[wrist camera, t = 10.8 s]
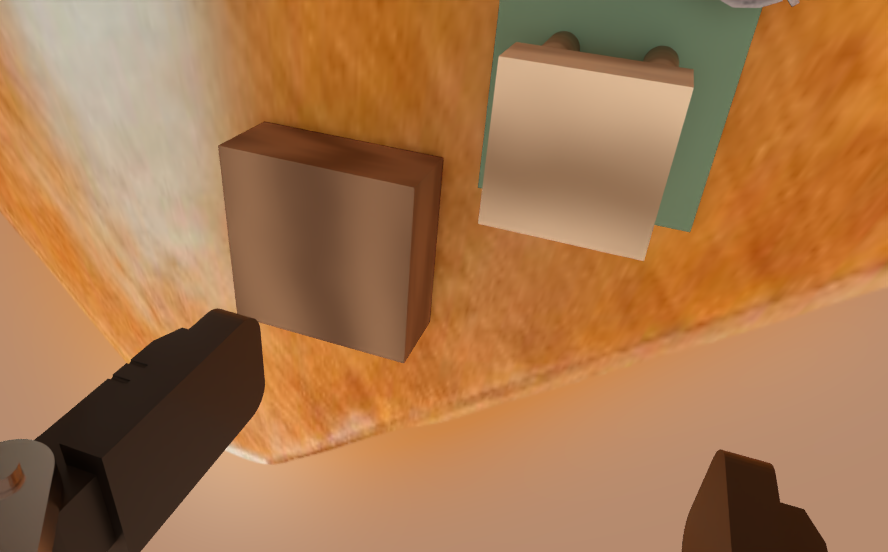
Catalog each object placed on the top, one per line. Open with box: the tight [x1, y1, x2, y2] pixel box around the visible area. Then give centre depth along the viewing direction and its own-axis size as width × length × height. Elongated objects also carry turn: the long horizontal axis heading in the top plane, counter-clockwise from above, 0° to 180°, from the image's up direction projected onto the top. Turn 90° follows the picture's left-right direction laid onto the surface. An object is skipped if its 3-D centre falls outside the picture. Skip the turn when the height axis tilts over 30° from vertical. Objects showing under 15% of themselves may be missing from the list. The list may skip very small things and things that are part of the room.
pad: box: [478, 0, 762, 232], centre depth 27 cm, size 10×10×1 cm
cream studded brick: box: [478, 31, 694, 261], centre depth 24 cm, size 6×6×8 cm
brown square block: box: [218, 122, 443, 363], centre depth 34 cm, size 10×10×4 cm
